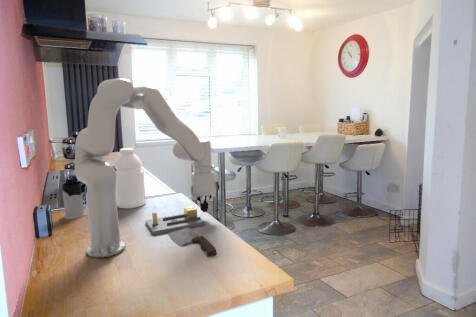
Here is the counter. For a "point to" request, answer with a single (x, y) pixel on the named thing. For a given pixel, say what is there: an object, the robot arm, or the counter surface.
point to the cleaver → (191, 239)
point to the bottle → (129, 180)
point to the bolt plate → (172, 223)
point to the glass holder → (73, 200)
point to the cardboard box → (190, 212)
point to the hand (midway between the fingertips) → (204, 211)
